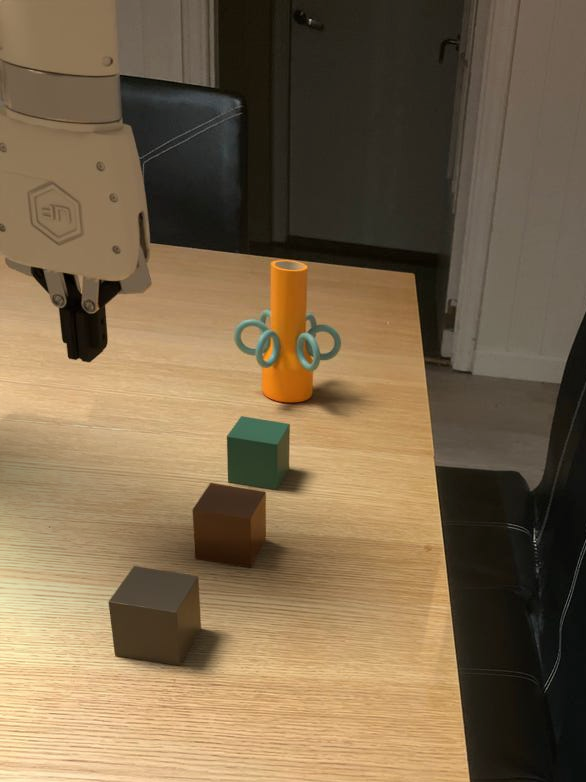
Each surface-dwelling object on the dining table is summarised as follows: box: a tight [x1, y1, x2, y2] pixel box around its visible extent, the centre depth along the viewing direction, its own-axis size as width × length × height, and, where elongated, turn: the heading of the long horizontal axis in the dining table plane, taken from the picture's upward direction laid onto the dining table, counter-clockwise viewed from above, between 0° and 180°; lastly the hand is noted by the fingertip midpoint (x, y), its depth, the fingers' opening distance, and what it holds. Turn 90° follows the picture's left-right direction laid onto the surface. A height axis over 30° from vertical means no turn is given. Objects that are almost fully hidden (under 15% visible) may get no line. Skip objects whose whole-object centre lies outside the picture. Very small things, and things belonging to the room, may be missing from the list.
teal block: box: [226, 416, 291, 490], centre depth 95 cm, size 5×5×5 cm
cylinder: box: [233, 259, 342, 403], centre depth 109 cm, size 12×10×15 cm
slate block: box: [107, 565, 202, 667], centre depth 71 cm, size 5×5×5 cm
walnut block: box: [192, 482, 267, 569], centre depth 83 cm, size 5×5×5 cm
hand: (86, 354), depth 75 cm, fingers closed
